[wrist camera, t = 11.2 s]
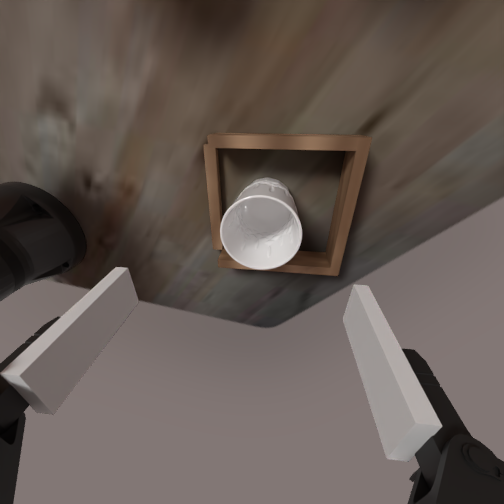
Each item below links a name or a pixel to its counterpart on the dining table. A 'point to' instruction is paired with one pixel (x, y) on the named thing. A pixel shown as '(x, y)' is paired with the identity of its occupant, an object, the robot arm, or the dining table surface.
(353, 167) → the bay
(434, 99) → the dining table surface
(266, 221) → the white cup
